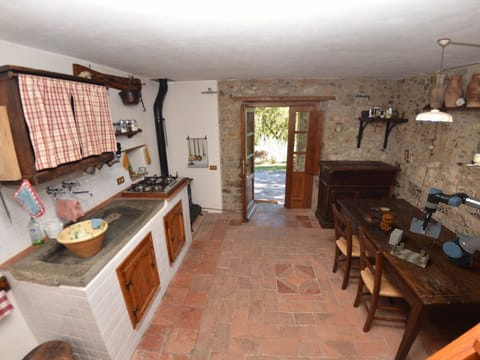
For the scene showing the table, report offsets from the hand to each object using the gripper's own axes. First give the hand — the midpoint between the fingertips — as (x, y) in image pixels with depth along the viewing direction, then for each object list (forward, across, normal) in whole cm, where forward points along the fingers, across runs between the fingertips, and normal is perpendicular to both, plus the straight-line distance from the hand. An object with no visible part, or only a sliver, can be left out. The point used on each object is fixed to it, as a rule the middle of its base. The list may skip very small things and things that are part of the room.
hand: (423, 231), depth 180 cm
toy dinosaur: (+19, -18, -30) cm, 40 cm away
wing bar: (+19, 0, -17) cm, 25 cm away
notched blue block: (+1, 0, 0) cm, 1 cm away
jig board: (+19, +16, -3) cm, 25 cm away
